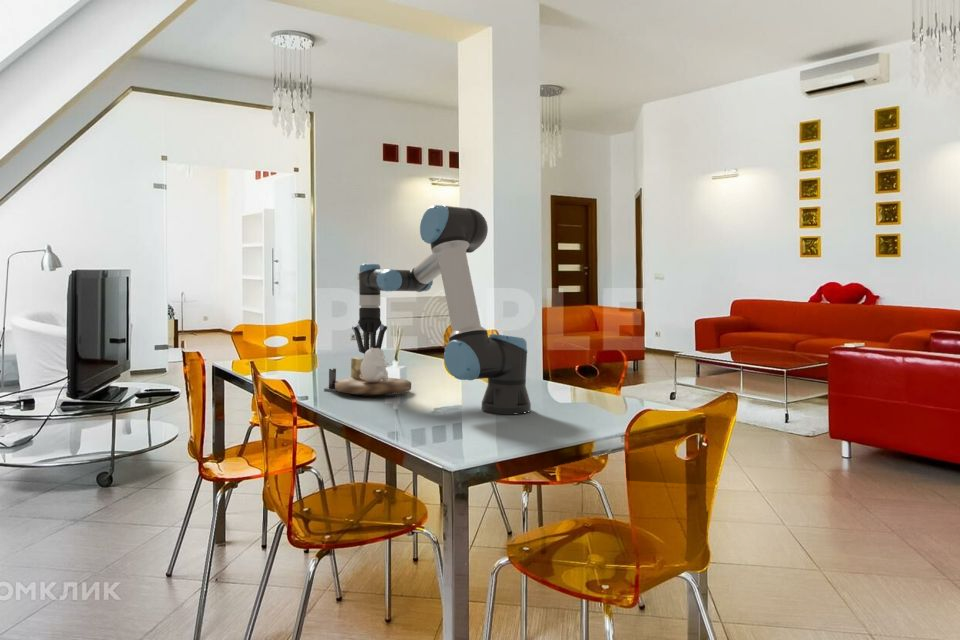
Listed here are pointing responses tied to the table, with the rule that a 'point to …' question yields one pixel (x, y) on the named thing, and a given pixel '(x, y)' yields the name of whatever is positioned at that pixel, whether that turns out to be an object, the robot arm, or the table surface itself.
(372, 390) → the turntable
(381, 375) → the figurine
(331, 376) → the base
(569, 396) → the table surface
